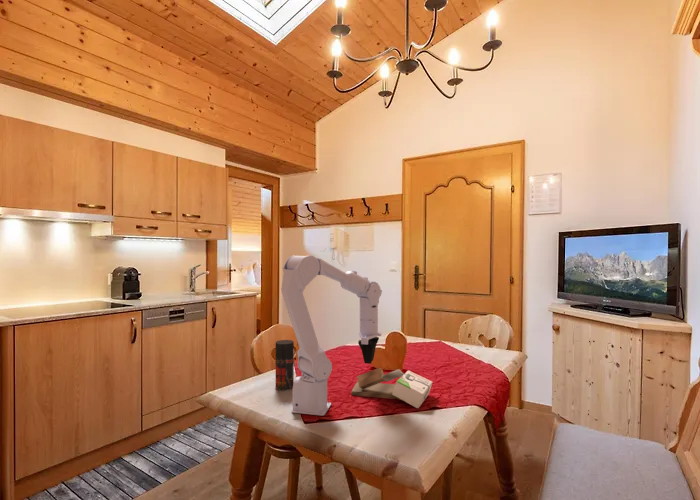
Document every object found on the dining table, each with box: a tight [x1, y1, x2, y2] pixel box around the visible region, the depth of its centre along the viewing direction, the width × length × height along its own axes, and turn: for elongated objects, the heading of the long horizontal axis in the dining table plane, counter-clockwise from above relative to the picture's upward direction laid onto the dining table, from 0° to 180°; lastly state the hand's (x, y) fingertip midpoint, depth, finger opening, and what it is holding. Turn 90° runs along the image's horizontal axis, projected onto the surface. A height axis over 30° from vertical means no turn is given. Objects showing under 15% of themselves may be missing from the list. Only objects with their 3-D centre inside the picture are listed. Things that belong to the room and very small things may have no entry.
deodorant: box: [275, 339, 295, 392], centre depth 123 cm, size 6×6×15 cm
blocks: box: [356, 367, 405, 389], centre depth 117 cm, size 14×5×4 cm
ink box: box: [392, 370, 433, 409], centre depth 113 cm, size 9×5×12 cm
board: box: [350, 380, 400, 400], centre depth 119 cm, size 18×9×1 cm, turn 77°
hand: (368, 361), depth 118 cm, fingers open, 2 cm apart
